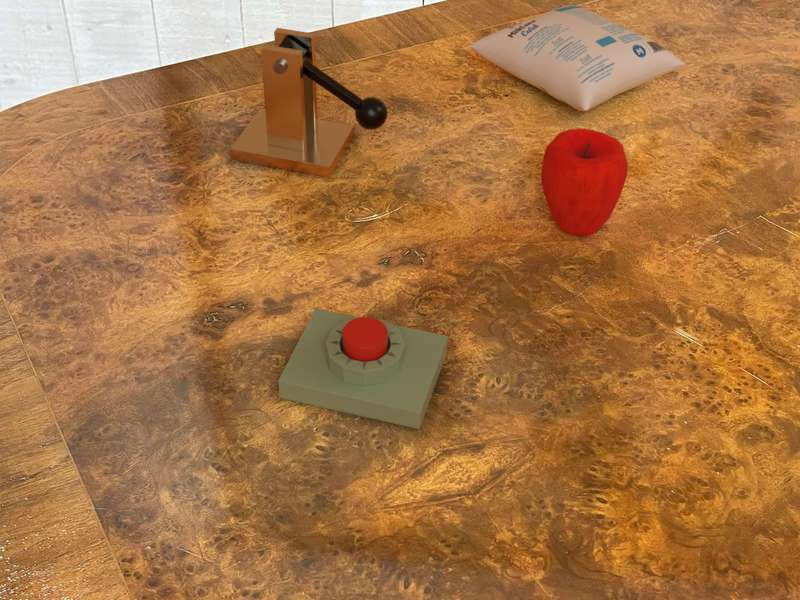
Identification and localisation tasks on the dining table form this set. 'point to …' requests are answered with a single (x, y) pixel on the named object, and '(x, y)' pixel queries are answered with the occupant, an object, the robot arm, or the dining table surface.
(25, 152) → the dining table surface
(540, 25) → the pouch
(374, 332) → the stop button
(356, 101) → the lever
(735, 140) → the dining table surface
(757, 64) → the dining table surface
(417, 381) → the stop button block
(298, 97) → the power switch
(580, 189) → the apple
